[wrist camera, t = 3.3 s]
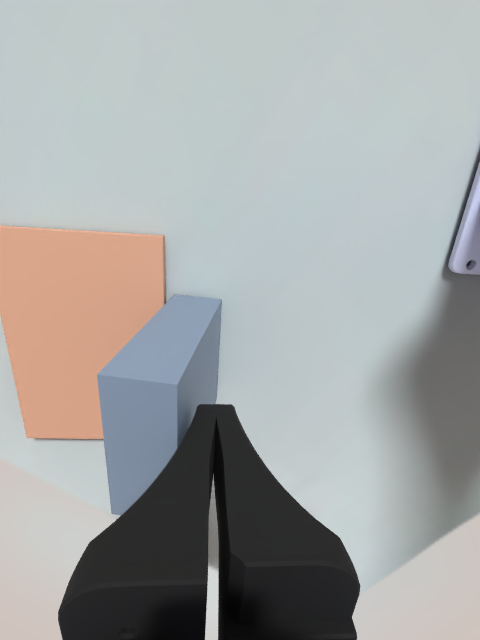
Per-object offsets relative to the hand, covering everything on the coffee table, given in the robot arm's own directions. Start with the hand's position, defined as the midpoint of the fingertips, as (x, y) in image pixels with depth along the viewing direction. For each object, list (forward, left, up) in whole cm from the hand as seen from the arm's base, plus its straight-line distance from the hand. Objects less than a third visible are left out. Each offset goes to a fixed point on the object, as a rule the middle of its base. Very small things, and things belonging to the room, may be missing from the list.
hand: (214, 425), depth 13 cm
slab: (+1, 0, -6) cm, 6 cm away
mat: (+7, 0, -6) cm, 9 cm away
